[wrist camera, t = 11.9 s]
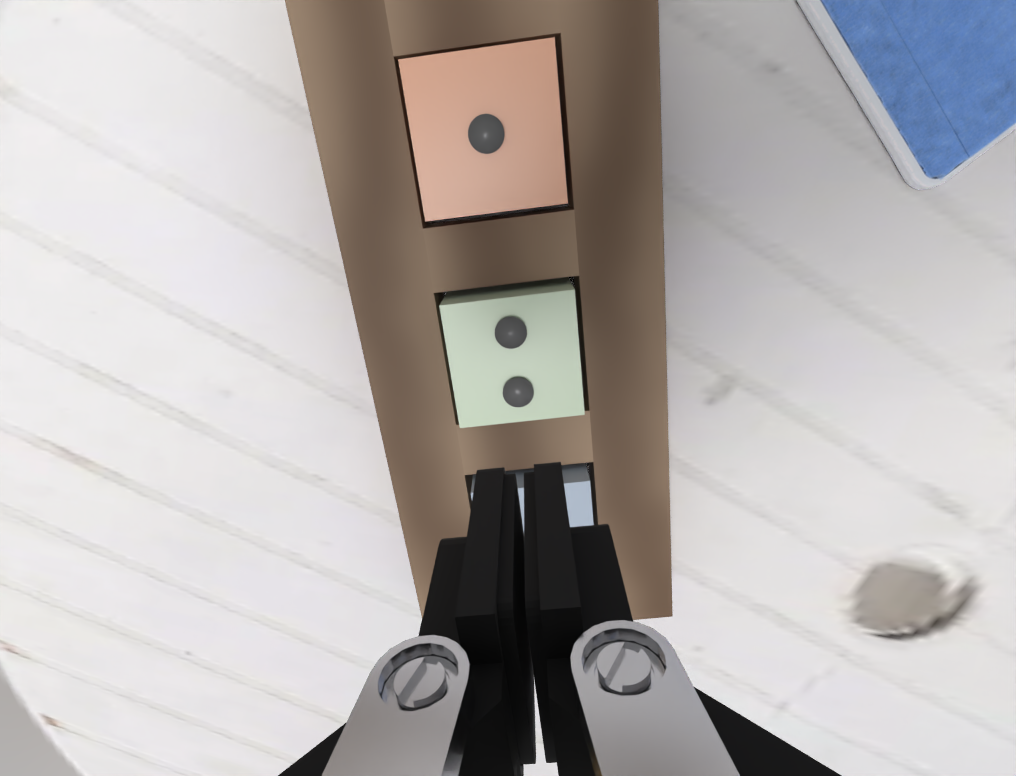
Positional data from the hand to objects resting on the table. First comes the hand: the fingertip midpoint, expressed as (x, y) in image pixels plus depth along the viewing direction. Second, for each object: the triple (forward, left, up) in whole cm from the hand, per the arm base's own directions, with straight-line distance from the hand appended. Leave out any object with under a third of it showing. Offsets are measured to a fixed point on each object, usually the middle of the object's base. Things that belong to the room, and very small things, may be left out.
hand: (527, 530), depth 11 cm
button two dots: (0, 0, -14) cm, 14 cm away
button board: (0, 0, -15) cm, 15 cm away
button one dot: (0, -8, -14) cm, 16 cm away
